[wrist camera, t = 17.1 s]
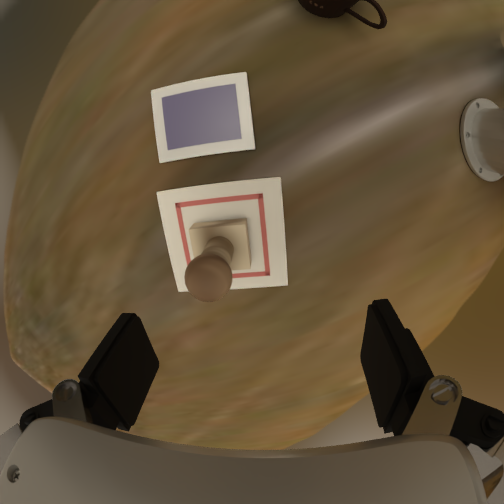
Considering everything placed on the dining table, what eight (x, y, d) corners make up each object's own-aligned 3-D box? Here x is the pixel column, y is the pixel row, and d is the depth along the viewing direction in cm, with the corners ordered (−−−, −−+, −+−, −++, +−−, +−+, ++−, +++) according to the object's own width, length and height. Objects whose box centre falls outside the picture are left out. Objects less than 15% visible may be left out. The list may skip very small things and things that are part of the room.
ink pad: (247, 74, 26) (246, 71, 24) (255, 148, 29) (254, 149, 28) (155, 92, 27) (150, 90, 25) (163, 162, 30) (158, 163, 29)
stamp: (247, 216, 32) (237, 258, 21) (251, 258, 34) (244, 314, 23) (194, 221, 33) (161, 263, 22) (202, 261, 35) (176, 316, 24)
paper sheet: (280, 176, 30) (280, 177, 30) (287, 284, 36) (288, 285, 35) (157, 191, 32) (156, 192, 31) (179, 290, 37) (178, 292, 37)
